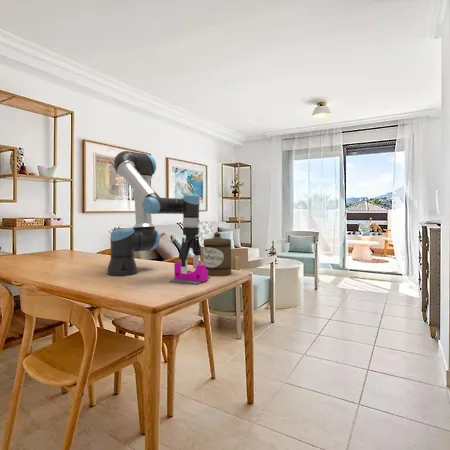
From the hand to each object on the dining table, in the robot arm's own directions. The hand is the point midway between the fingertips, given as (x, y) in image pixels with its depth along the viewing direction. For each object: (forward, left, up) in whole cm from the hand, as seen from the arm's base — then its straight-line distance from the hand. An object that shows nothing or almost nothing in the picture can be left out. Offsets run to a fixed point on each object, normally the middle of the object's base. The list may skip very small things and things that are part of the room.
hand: (190, 270), depth 156 cm
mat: (0, 0, -4) cm, 4 cm away
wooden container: (+6, +21, -5) cm, 22 cm away
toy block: (+1, 0, -4) cm, 4 cm away
